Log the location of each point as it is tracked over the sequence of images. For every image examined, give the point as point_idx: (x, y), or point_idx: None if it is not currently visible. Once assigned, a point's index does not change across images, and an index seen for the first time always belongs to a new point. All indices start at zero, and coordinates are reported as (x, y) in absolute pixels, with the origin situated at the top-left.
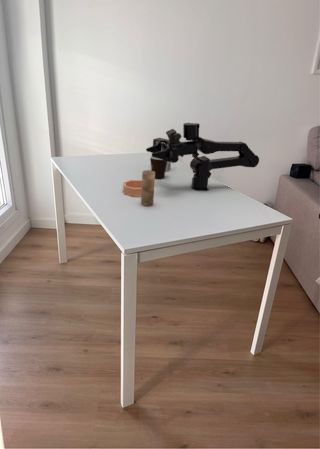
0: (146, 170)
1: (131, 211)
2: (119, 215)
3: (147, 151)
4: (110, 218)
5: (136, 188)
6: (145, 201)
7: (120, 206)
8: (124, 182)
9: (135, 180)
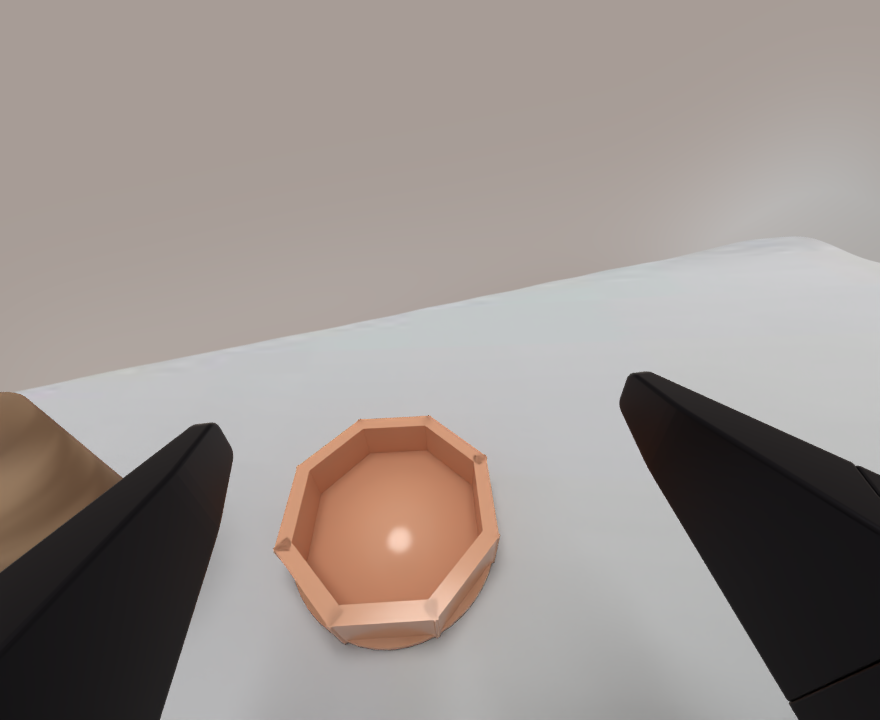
0: (20, 428)
1: None
2: (104, 422)
3: (628, 424)
4: (100, 393)
5: (298, 484)
6: None
7: None
8: (430, 421)
9: (483, 490)
